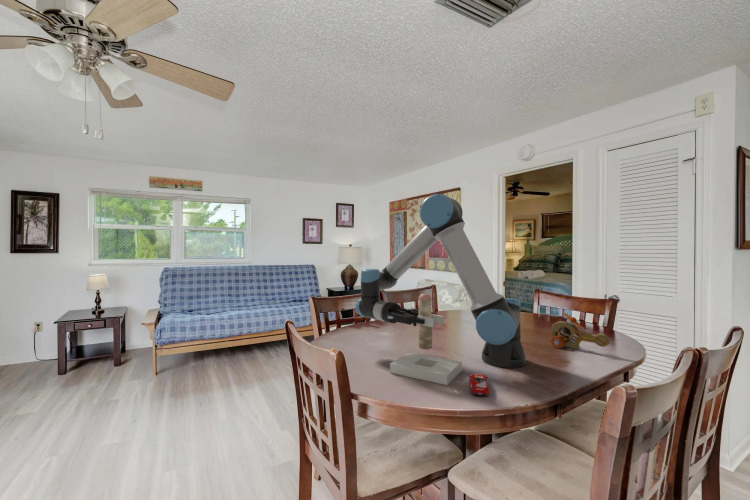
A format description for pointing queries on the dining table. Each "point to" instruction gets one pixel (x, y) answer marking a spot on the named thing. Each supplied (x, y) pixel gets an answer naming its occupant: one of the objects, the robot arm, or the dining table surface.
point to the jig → (426, 368)
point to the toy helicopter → (574, 334)
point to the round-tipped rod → (424, 331)
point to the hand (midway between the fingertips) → (438, 321)
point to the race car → (479, 384)
